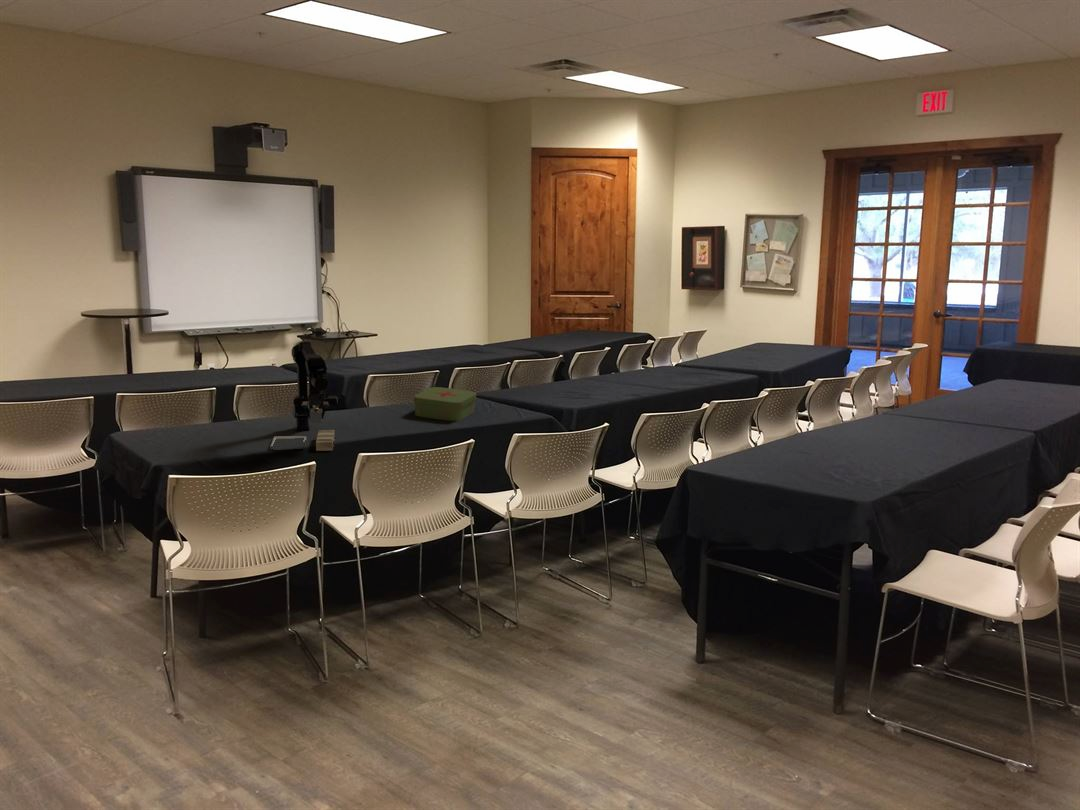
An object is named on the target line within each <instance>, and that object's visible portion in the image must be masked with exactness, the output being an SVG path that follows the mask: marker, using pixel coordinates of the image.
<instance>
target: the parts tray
mask: <svg viewBox="0 0 1080 810" xmlns="http://www.w3.org/2000/svg"><path fill="white" fill-rule="evenodd" d="M295 438H304V440H303V442H305V440H306V441H307V436H304V435H302V436H301V435H300V436H299V435H298V436H297V435H296V436H294V435H293V436H292V435H291V436H290V435H289V436H287V435H286V436H283V435H282V436H280V435H279V436H274V437H273V439H272V442H271V444H270V446H269V447H271V446H273V444H274V442H275V440H276V439H295Z"/></svg>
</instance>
